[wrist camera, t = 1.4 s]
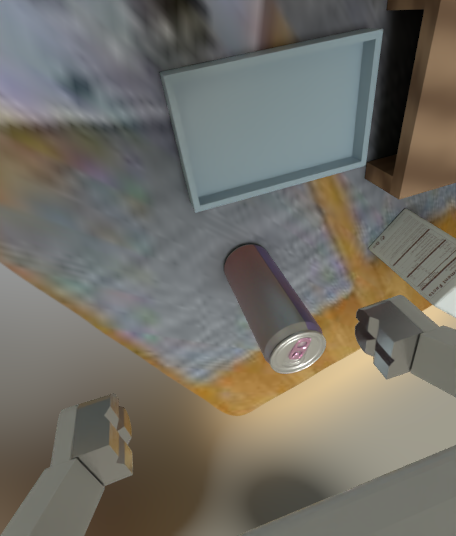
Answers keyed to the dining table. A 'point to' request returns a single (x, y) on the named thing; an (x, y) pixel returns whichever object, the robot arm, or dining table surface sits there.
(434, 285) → the supplement box
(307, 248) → the dining table surface
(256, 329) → the beverage can
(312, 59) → the grey-blue tray
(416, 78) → the cubby
